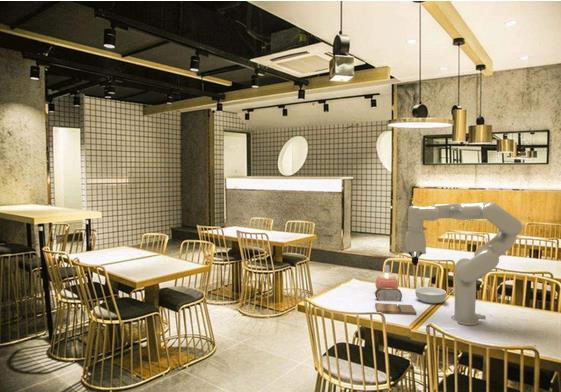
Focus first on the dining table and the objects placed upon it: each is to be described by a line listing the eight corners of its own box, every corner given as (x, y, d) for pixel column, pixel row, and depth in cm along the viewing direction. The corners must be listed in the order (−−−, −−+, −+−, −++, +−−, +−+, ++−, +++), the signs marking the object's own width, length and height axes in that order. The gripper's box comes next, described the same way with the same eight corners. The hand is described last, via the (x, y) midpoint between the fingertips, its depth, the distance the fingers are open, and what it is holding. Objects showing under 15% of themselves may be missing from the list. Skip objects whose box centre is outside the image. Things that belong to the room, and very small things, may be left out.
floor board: (412, 309, 221) (412, 304, 221) (417, 317, 208) (417, 312, 208) (371, 307, 224) (371, 302, 224) (374, 315, 211) (374, 310, 211)
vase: (371, 294, 249) (372, 266, 248) (380, 289, 260) (380, 262, 259) (393, 298, 241) (393, 269, 240) (401, 292, 252) (401, 265, 251)
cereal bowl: (427, 296, 245) (427, 284, 245) (452, 303, 231) (452, 291, 231) (408, 301, 236) (409, 289, 235) (433, 309, 222) (433, 296, 221)
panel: (396, 306, 222) (396, 304, 222) (399, 314, 210) (399, 311, 210) (375, 305, 223) (375, 303, 223) (377, 313, 211) (377, 310, 211)
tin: (401, 301, 234) (401, 287, 234) (402, 303, 231) (402, 289, 231) (374, 300, 236) (375, 286, 235) (375, 302, 233) (375, 288, 232)
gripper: (429, 229, 211) (428, 263, 212) (399, 228, 213) (398, 262, 214) (432, 231, 203) (431, 266, 204) (401, 230, 205) (401, 265, 206)
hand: (414, 264), depth 209 cm, fingers closed
